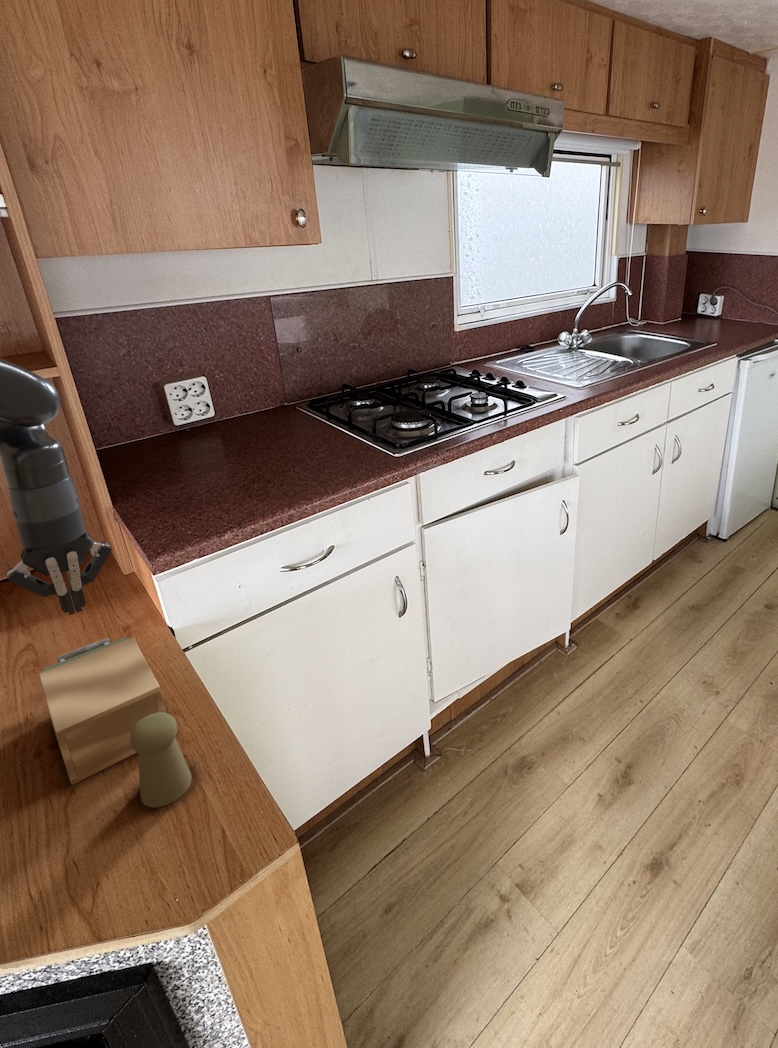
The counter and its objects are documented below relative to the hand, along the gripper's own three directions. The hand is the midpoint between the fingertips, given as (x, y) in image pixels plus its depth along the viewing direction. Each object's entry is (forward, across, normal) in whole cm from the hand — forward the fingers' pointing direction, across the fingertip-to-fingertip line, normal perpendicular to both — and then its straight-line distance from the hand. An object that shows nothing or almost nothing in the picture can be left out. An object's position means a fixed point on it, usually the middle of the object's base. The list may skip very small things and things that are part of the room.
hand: (74, 610), depth 89 cm
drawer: (+14, 0, +5) cm, 15 cm away
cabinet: (+15, 0, +11) cm, 19 cm away
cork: (+15, -3, +27) cm, 31 cm away
